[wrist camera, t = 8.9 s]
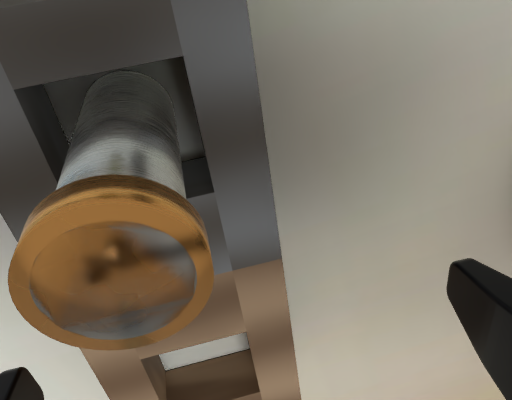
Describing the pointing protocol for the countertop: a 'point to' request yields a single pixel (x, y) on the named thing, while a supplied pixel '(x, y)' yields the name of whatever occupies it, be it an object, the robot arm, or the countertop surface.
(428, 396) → the countertop surface
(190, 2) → the pin dock plate
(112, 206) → the lock pin
